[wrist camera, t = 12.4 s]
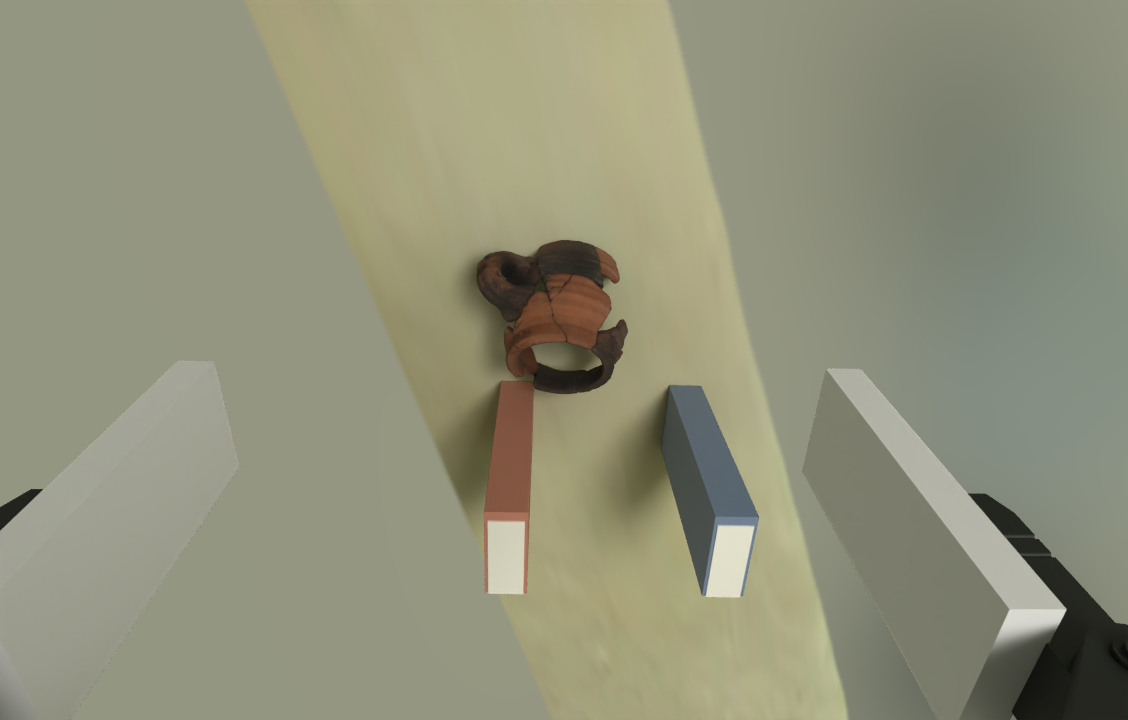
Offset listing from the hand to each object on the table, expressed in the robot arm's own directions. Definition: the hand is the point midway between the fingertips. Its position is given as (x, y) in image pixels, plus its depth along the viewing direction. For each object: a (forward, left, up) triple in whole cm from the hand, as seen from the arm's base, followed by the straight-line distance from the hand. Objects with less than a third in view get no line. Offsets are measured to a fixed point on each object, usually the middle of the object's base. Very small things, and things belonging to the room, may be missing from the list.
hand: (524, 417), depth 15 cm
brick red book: (+20, -1, -34) cm, 39 cm away
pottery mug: (+8, +1, -35) cm, 36 cm away
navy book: (+20, +12, -34) cm, 41 cm away
